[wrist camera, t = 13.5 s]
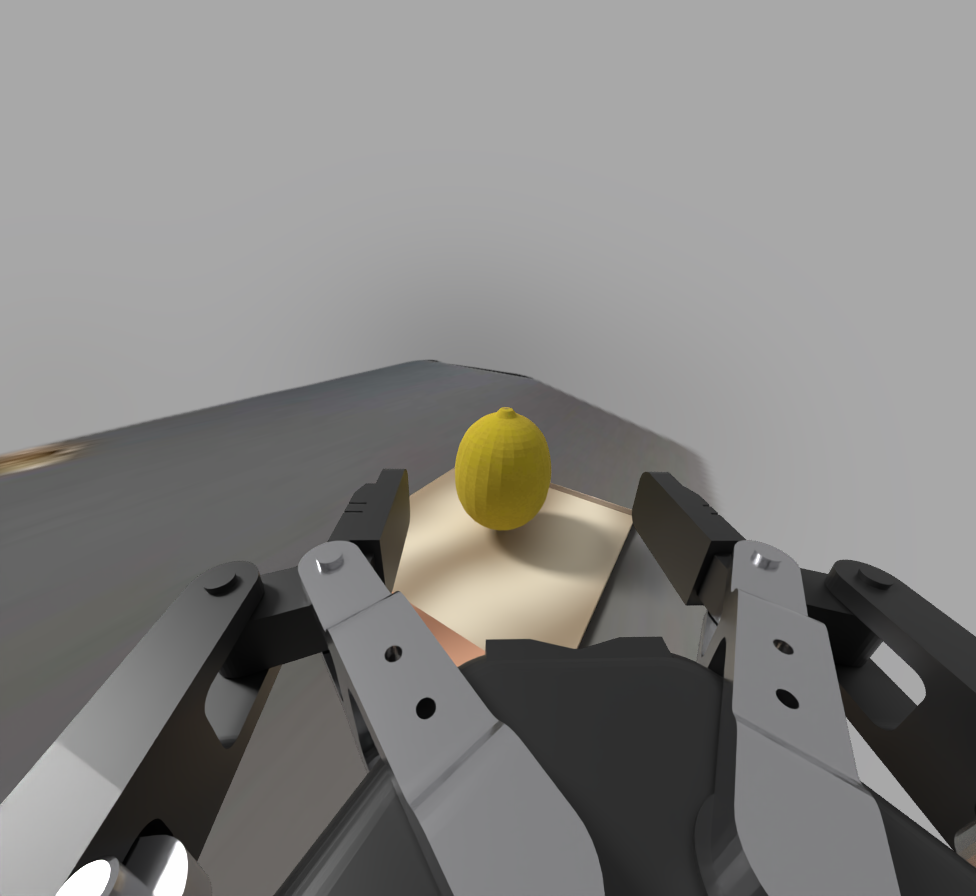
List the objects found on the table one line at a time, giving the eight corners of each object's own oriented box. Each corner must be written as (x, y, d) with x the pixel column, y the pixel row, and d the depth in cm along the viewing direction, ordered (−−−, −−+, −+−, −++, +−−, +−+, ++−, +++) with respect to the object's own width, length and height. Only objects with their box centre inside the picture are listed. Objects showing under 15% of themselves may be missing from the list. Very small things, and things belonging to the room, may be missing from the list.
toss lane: (261, 597, 17) (259, 589, 17) (471, 460, 31) (472, 455, 31) (506, 811, 11) (507, 804, 10) (636, 516, 24) (637, 510, 24)
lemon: (526, 499, 25) (537, 391, 22) (557, 553, 20) (577, 424, 17) (449, 507, 24) (448, 394, 20) (462, 566, 19) (463, 431, 16)
